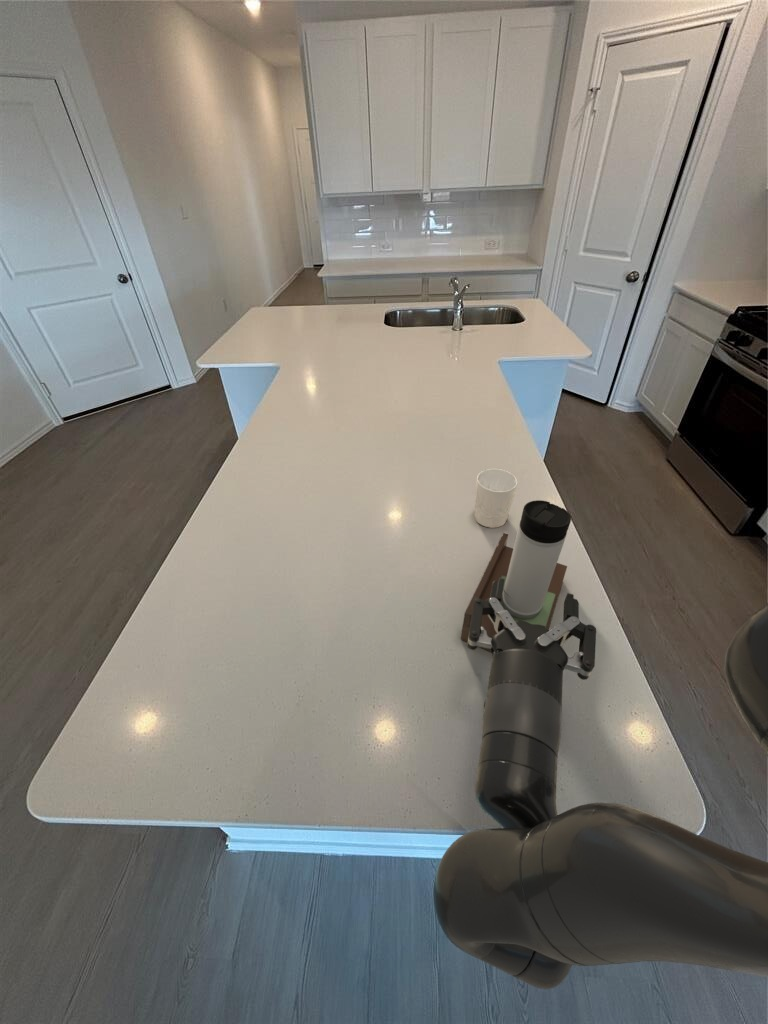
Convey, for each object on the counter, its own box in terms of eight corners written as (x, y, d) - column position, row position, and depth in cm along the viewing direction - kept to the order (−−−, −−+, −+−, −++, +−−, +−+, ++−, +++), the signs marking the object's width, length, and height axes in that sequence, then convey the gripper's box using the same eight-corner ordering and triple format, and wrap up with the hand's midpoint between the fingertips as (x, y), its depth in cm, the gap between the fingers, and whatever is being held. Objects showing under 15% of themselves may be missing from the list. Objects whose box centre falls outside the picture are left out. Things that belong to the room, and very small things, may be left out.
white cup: (511, 510, 95) (520, 472, 89) (506, 533, 90) (514, 495, 83) (475, 502, 97) (481, 465, 91) (467, 525, 92) (473, 487, 85)
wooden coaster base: (561, 580, 80) (571, 554, 75) (535, 670, 67) (544, 645, 62) (497, 559, 84) (503, 532, 80) (460, 639, 71) (464, 613, 67)
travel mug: (492, 606, 71) (513, 512, 58) (513, 582, 74) (537, 489, 61) (527, 628, 68) (558, 533, 55) (548, 602, 71) (581, 508, 58)
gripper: (607, 710, 41) (601, 583, 53) (458, 668, 45) (482, 558, 57) (585, 743, 46) (584, 620, 58) (452, 703, 50) (476, 595, 62)
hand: (533, 589), depth 57 cm, fingers open, 8 cm apart
